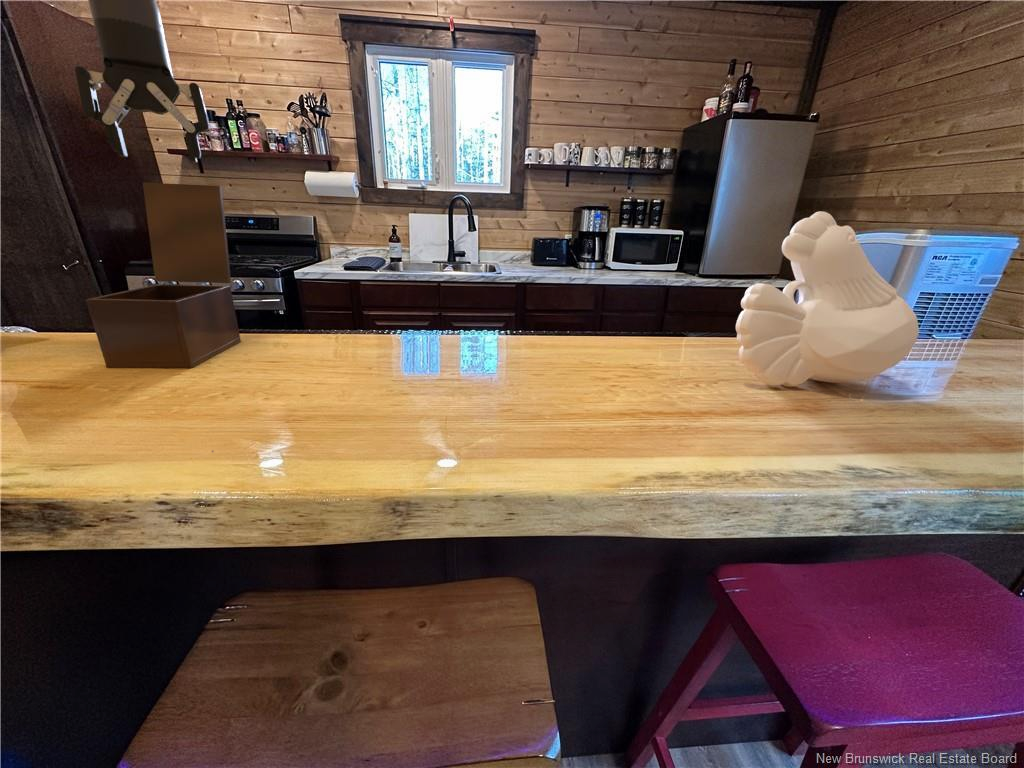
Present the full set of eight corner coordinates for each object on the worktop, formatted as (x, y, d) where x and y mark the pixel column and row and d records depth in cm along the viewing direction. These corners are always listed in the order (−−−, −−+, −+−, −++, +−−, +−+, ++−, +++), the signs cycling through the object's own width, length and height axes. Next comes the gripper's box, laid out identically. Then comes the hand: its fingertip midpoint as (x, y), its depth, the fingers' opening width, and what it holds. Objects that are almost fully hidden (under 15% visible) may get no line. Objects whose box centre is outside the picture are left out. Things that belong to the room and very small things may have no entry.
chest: (191, 368, 64) (175, 301, 60) (106, 367, 63) (85, 299, 59) (241, 341, 77) (230, 285, 74) (171, 340, 76) (157, 284, 73)
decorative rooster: (872, 330, 75) (802, 206, 71) (965, 336, 59) (882, 178, 56) (745, 411, 78) (672, 296, 74) (803, 438, 62) (714, 293, 59)
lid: (219, 185, 70) (222, 187, 71) (142, 182, 69) (146, 183, 70) (228, 283, 73) (231, 283, 74) (155, 281, 72) (158, 281, 73)
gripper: (47, 2, 53) (88, 151, 59) (189, 29, 59) (213, 161, 65) (70, 24, 59) (105, 157, 65) (196, 46, 66) (218, 165, 71)
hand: (159, 159), depth 65 cm, fingers open, 8 cm apart
